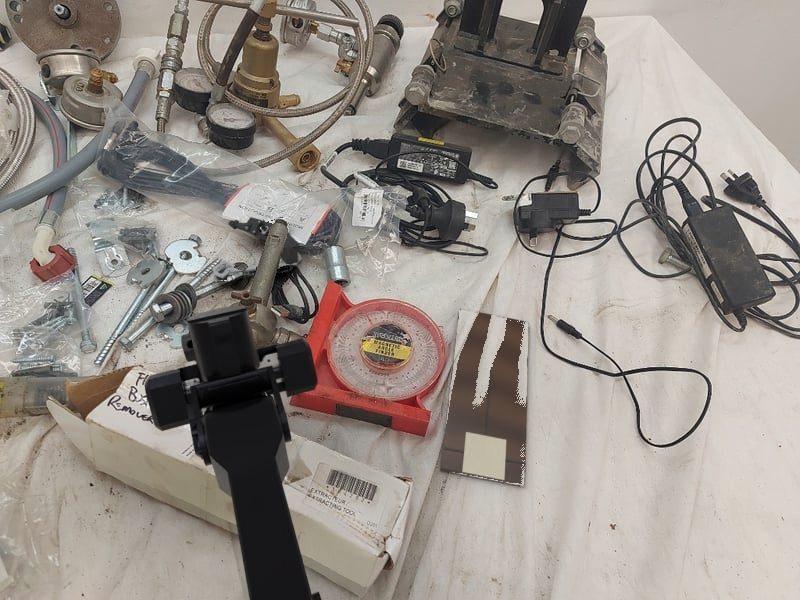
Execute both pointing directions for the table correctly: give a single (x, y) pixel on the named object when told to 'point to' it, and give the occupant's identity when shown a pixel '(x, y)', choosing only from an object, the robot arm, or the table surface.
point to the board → (487, 410)
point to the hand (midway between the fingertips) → (231, 365)
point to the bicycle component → (253, 227)
